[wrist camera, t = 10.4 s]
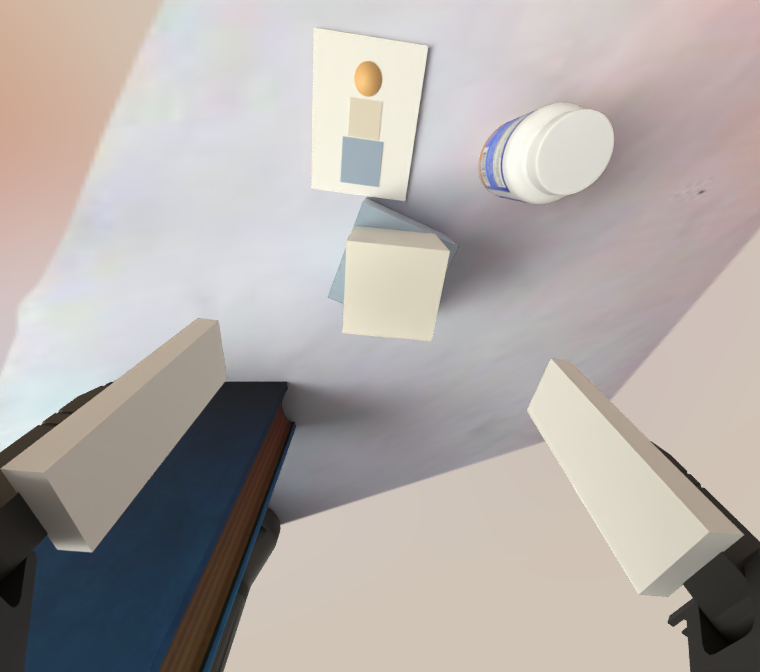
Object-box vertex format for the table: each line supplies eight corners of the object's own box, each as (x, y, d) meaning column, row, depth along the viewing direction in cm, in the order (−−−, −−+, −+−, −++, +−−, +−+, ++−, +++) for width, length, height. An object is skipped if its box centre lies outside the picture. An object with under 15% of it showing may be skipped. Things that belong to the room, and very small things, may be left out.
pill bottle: (559, 145, 24) (656, 128, 15) (513, 209, 26) (576, 226, 18) (505, 104, 23) (578, 62, 14) (462, 175, 25) (503, 176, 16)
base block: (409, 309, 31) (412, 331, 27) (336, 279, 30) (327, 297, 25) (447, 235, 27) (458, 247, 23) (366, 197, 26) (362, 202, 22)
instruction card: (404, 201, 26) (405, 201, 26) (312, 188, 26) (311, 188, 25) (427, 47, 21) (428, 45, 21) (314, 29, 21) (313, 27, 20)
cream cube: (422, 307, 25) (431, 341, 20) (351, 300, 25) (342, 333, 20) (434, 233, 23) (449, 251, 17) (355, 225, 22) (346, 240, 17)
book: (118, 434, 40) (-404, 948, 14) (87, 381, 36) (-761, 975, 9) (297, 434, 40) (121, 966, 13) (286, 380, 35) (-7, 1003, 9)
